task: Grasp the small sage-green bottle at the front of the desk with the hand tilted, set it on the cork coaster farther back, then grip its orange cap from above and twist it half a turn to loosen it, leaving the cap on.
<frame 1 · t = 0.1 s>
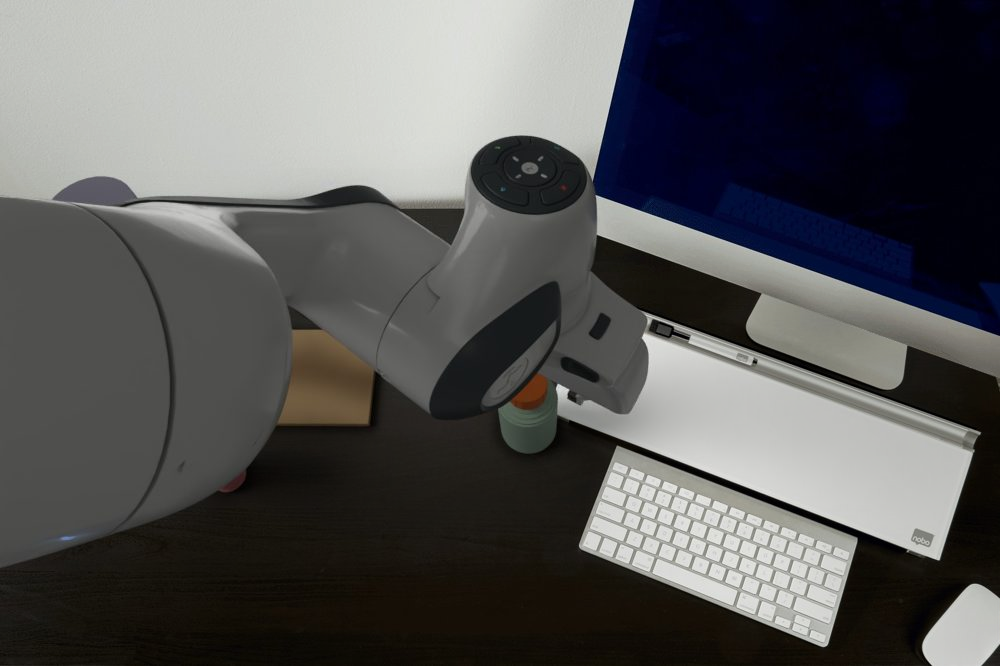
hand: (533, 373, 69), 14 cm above the table, tool pointing down, fingers open, 8 cm apart
container: (154, 285, 93), on the table
cap: (526, 384, 70), point 12 cm above the table, screwed on, not yet turned
light bulb: (230, 477, 80), on the table
coaster: (324, 377, 85), on the table
bottle: (528, 427, 81), on the table
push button: (122, 459, 82), on the table
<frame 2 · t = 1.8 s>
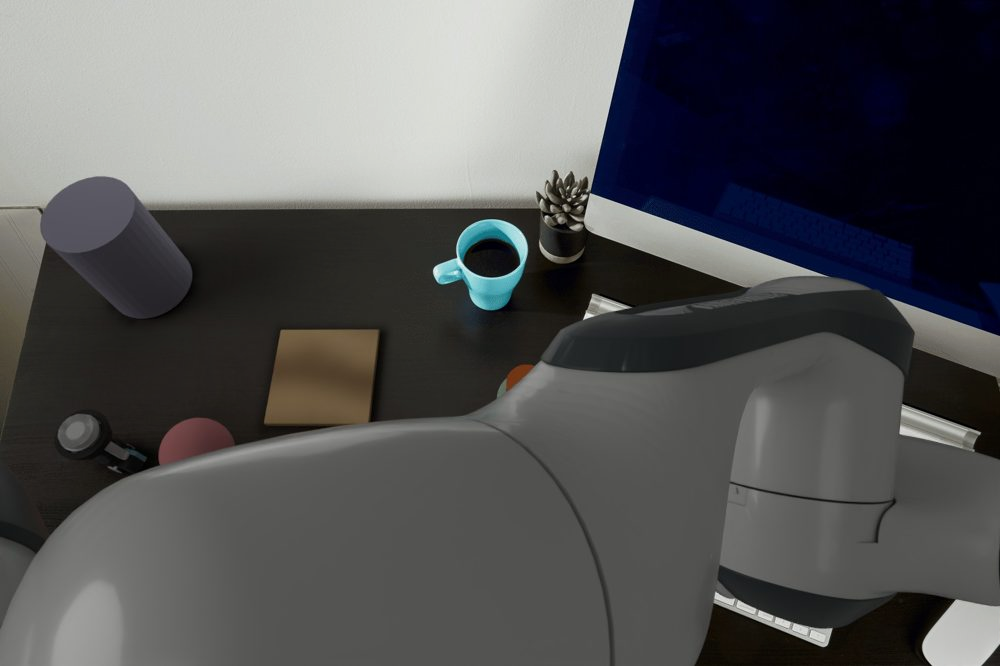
hand: (638, 442, 63), 16 cm above the table, tool tilted 45°, fingers open, 8 cm apart
nothing on the table moved.
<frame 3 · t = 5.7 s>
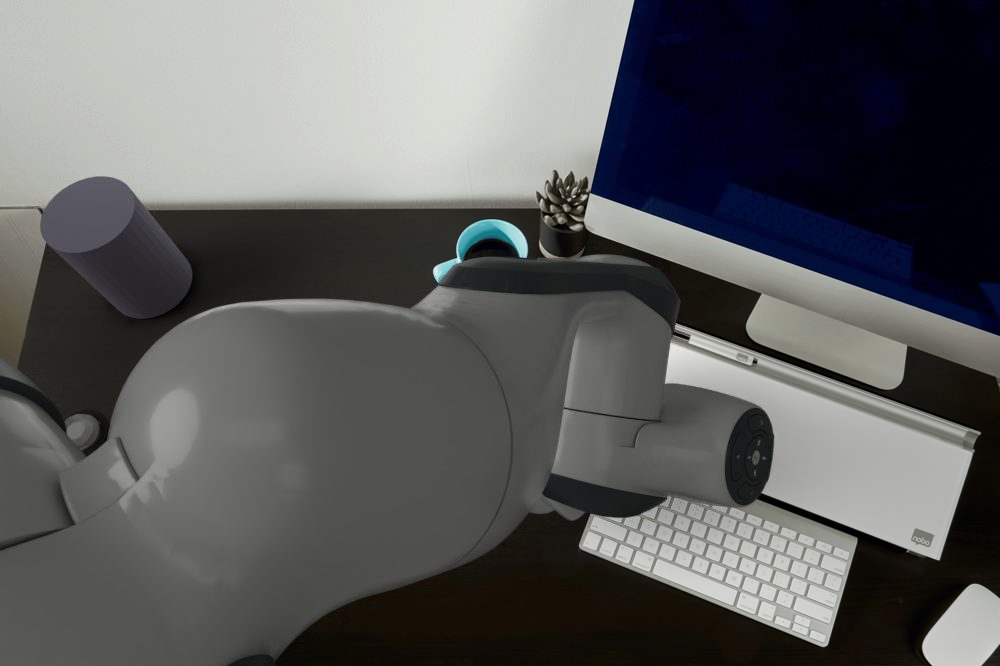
hand: (522, 404, 76), 6 cm above the table, tool tilted 45°, fingers closed on bottle, 6 cm apart
bottle: (528, 427, 81), on the table, touching gripper
everything else where it was.
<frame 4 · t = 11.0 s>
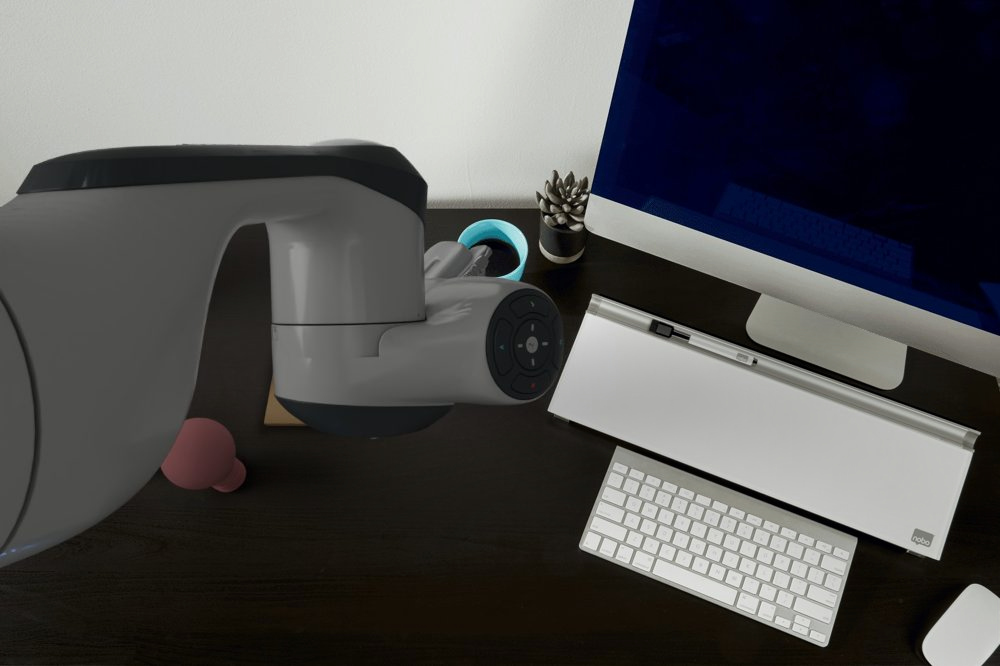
hand: (358, 328, 70), 16 cm above the table, tool tilted 45°, fingers closed on bottle, 6 cm apart
cap: (348, 298, 64), point 22 cm above the table, screwed on, not yet turned
bottle: (376, 357, 75), point 10 cm above the table, touching gripper
everything else where it was.
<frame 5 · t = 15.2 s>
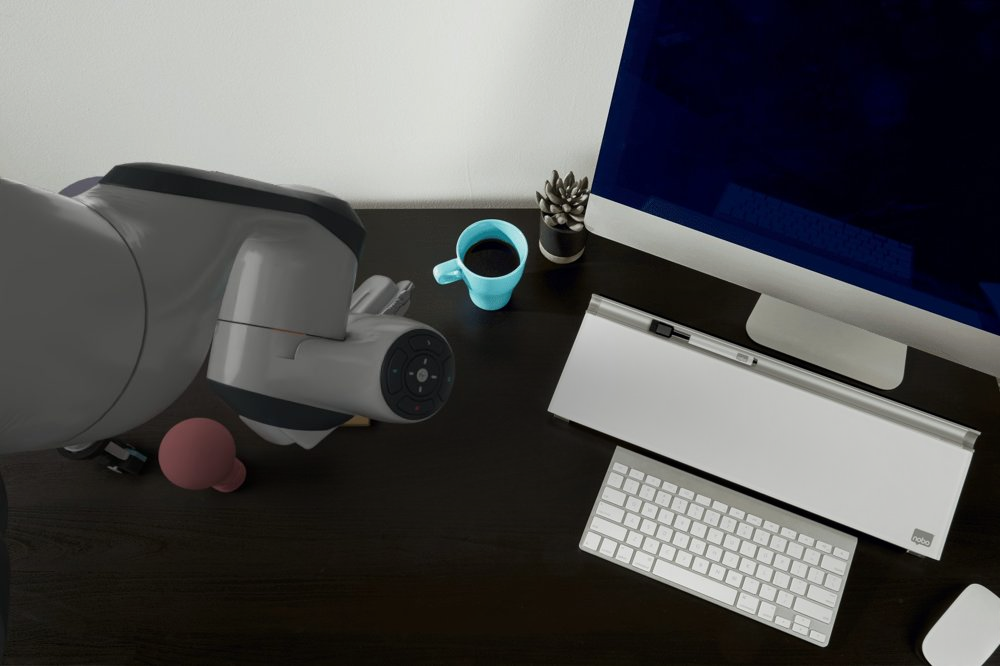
hand: (304, 350, 80), 7 cm above the table, tool tilted 45°, fingers closed on bottle, 6 cm apart
cap: (291, 326, 74), point 13 cm above the table, screwed on, not yet turned
bottle: (323, 374, 85), point 1 cm above the table, touching coaster, gripper
everything else where it was.
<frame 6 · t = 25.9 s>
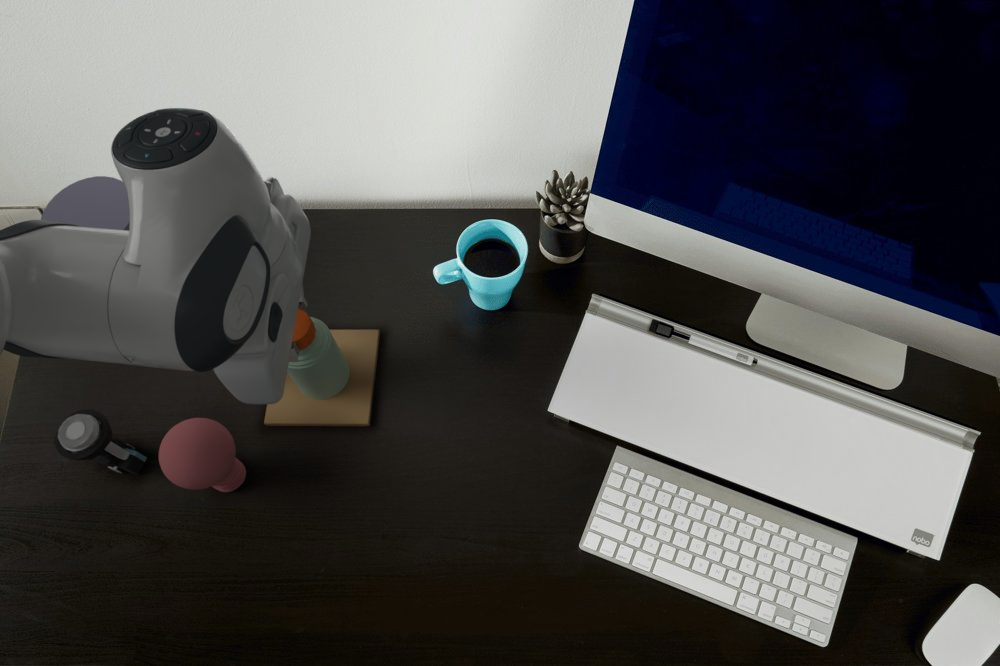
hand: (295, 333, 75), 11 cm above the table, tool pointing down, fingers closed on cap, 4 cm apart
cap: (291, 326, 74), point 13 cm above the table, screwed on, not yet turned, touching gripper
bottle: (323, 374, 85), point 1 cm above the table, touching coaster
everything else where it was.
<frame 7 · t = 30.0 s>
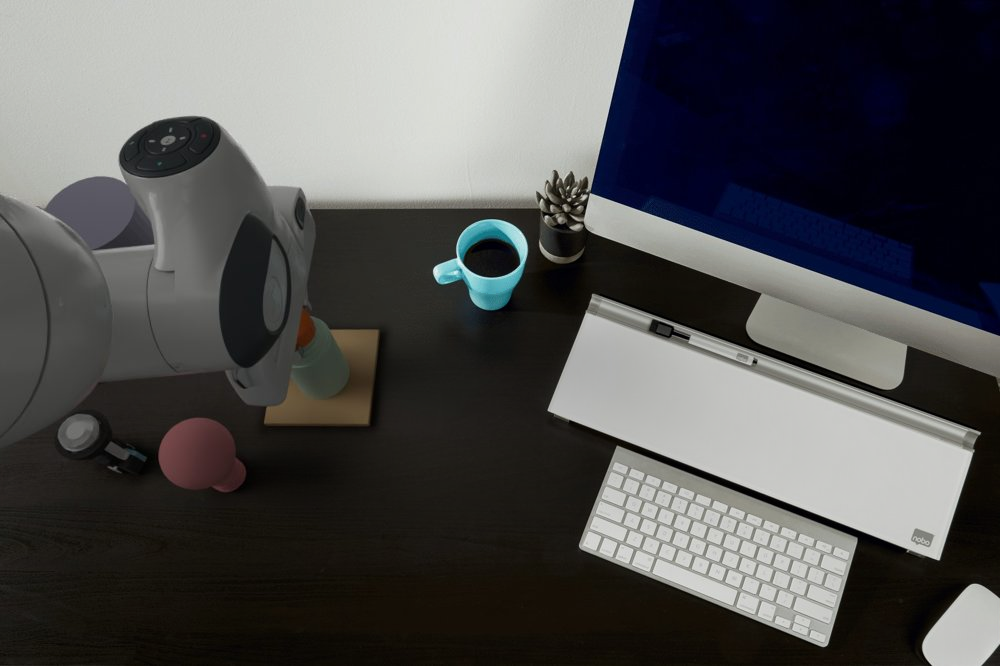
hand: (299, 335, 76), 10 cm above the table, tool pointing down, fingers closed on cap, 4 cm apart
cap: (291, 324, 74), point 13 cm above the table, turned 179° so far, risen 0.2 cm, still on its thread, touching gripper
bottle: (323, 374, 85), point 1 cm above the table, touching coaster, gripper
everything else where it was.
when the fingers open (11 cm above the table, at t = 30.9 s): cap stays where it is, point 13 cm above the table.
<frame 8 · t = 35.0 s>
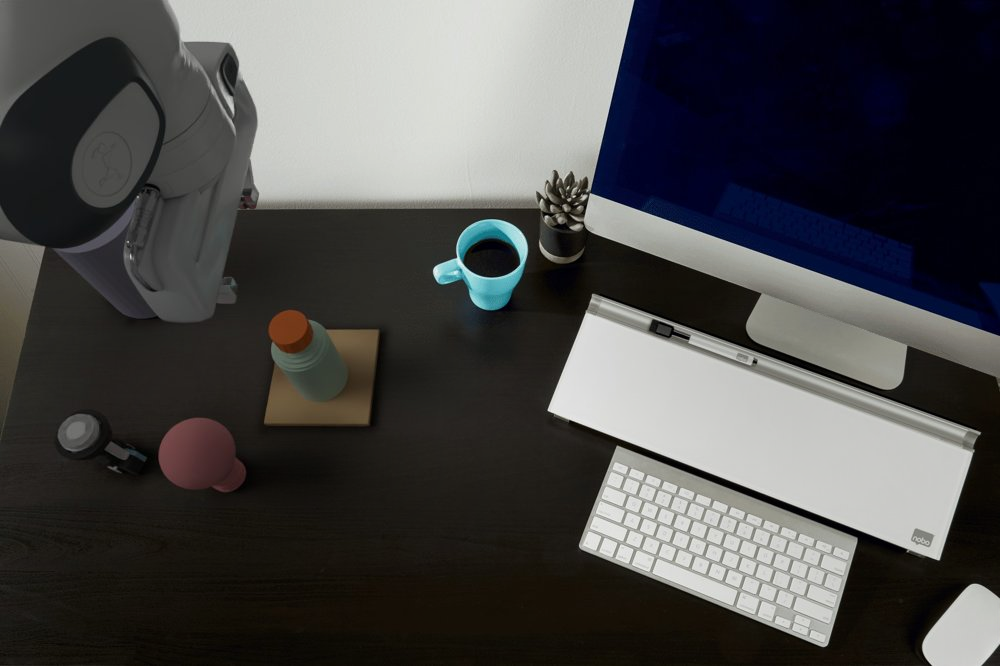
hand: (239, 247, 61), 27 cm above the table, tool pointing down, fingers open, 8 cm apart
cap: (288, 328, 74), point 13 cm above the table, turned 180° so far, risen 0.2 cm, still on its thread
bottle: (321, 377, 84), point 1 cm above the table, touching coaster
everything else where it was.
at the end: bottle 0.3 cm off-centre on the coaster, point 0.8 cm above the coaster's base; cap turned 0.50 turns (still on its thread); cap is still on its thread (0.50 turns) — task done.
